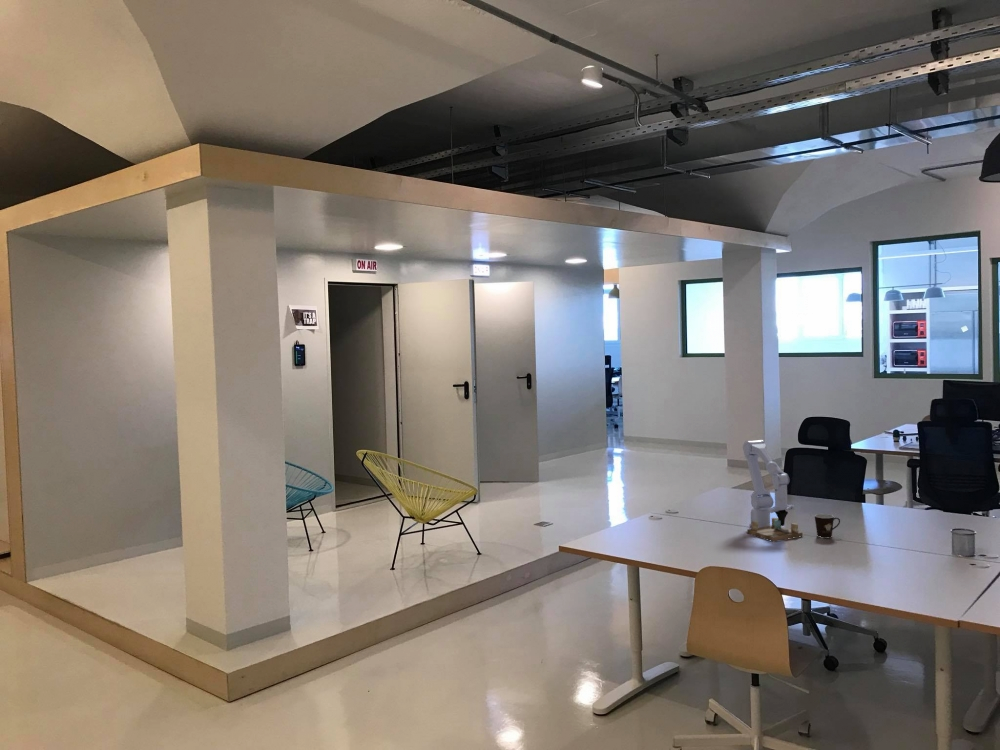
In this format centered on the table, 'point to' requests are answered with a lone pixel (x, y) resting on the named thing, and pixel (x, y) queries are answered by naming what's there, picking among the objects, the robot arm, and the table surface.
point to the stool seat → (774, 531)
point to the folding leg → (779, 526)
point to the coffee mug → (825, 524)
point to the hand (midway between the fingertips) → (781, 525)
